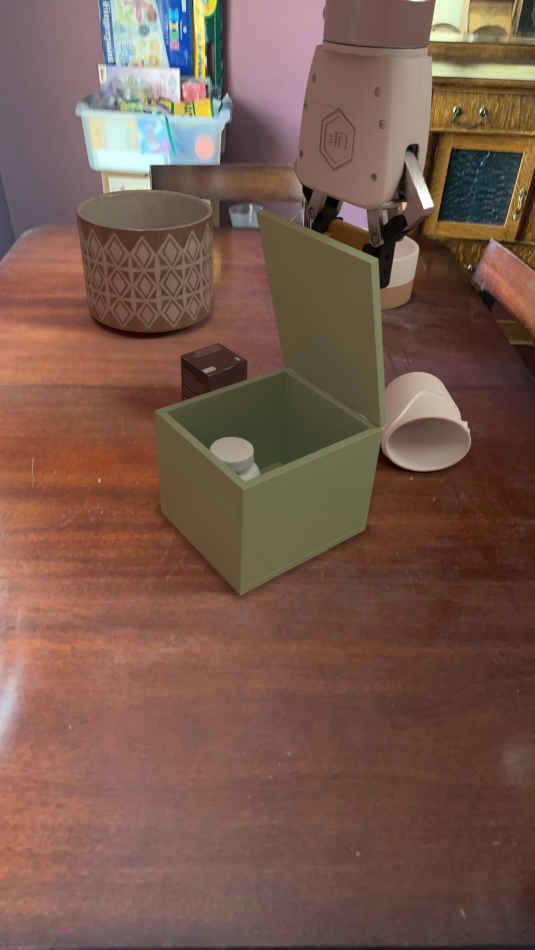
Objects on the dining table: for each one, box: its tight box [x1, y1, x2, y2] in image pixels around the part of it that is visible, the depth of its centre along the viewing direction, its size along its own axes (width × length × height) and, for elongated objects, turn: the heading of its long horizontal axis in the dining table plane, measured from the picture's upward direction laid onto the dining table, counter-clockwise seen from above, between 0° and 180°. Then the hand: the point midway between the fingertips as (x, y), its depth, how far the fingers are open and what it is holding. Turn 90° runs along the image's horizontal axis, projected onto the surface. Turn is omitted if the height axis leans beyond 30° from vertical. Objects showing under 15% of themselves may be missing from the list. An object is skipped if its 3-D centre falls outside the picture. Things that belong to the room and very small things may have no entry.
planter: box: [75, 189, 214, 334], centre depth 102 cm, size 19×19×16 cm
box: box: [179, 342, 248, 401], centre depth 83 cm, size 6×6×7 cm
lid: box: [255, 208, 387, 427], centre depth 60 cm, size 16×14×6 cm
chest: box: [153, 366, 383, 596], centre depth 65 cm, size 16×14×12 cm
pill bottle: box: [210, 437, 260, 482], centre depth 64 cm, size 5×5×10 cm
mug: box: [357, 371, 472, 472], centre depth 78 cm, size 12×9×8 cm
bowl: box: [358, 226, 420, 311], centre depth 116 cm, size 17×17×8 cm
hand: (347, 275), depth 58 cm, fingers closed on lid, 5 cm apart
